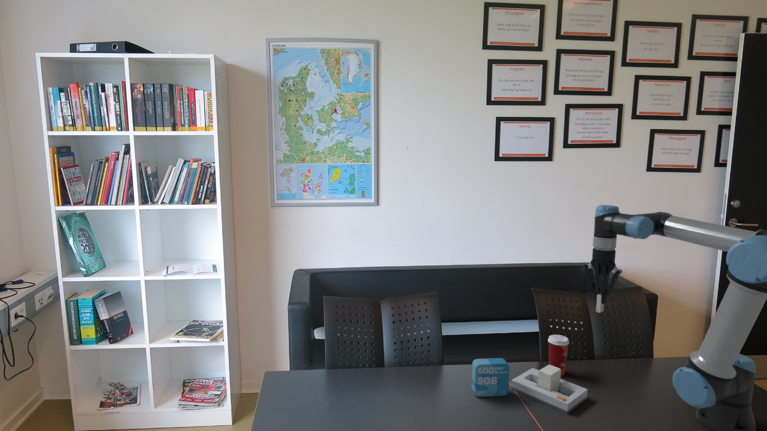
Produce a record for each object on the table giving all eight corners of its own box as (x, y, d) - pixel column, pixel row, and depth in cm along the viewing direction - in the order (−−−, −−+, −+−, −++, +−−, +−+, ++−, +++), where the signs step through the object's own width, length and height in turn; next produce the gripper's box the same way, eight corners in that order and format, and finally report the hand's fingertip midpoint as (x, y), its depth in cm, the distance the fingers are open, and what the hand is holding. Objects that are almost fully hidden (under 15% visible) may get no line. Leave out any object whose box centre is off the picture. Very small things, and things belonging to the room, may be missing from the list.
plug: (549, 397, 160) (550, 375, 159) (537, 392, 164) (538, 370, 163) (563, 387, 167) (565, 366, 166) (552, 382, 170) (553, 361, 169)
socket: (586, 398, 161) (587, 387, 161) (567, 414, 152) (567, 402, 152) (532, 376, 177) (532, 366, 176) (511, 389, 168) (511, 378, 167)
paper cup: (568, 378, 176) (571, 343, 174) (547, 376, 177) (549, 341, 175) (565, 368, 183) (567, 334, 181) (544, 366, 185) (546, 333, 183)
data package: (474, 397, 162) (475, 364, 161) (471, 390, 167) (472, 358, 165) (508, 396, 163) (509, 363, 161) (504, 389, 168) (505, 357, 166)
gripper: (627, 249, 166) (622, 313, 169) (590, 244, 175) (586, 304, 179) (618, 252, 161) (613, 318, 164) (581, 246, 170) (577, 309, 174)
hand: (599, 311), depth 171 cm, fingers closed
